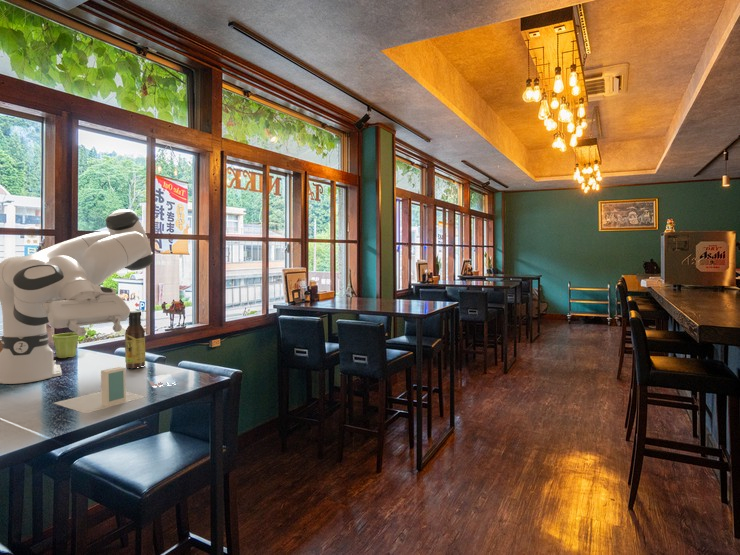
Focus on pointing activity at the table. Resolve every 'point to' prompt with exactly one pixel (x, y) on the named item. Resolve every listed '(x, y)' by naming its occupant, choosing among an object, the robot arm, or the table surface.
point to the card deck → (113, 386)
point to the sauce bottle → (135, 341)
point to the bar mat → (92, 402)
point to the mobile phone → (158, 384)
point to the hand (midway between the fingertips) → (101, 332)
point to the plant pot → (65, 344)
